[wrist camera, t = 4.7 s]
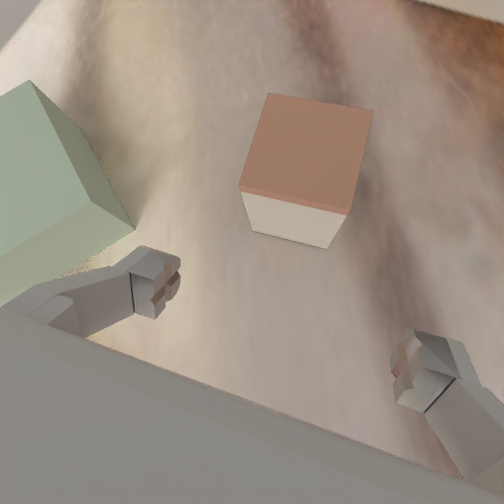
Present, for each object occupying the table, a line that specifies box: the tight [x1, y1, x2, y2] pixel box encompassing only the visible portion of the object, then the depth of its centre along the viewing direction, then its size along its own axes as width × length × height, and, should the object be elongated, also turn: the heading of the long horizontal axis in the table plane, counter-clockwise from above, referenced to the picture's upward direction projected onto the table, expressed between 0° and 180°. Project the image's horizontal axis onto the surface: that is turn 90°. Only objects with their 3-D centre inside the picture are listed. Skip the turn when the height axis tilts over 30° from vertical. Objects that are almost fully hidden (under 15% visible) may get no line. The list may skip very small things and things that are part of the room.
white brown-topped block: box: [239, 93, 373, 249], centre depth 20 cm, size 6×6×8 cm
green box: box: [0, 80, 135, 306], centre depth 23 cm, size 12×12×6 cm
